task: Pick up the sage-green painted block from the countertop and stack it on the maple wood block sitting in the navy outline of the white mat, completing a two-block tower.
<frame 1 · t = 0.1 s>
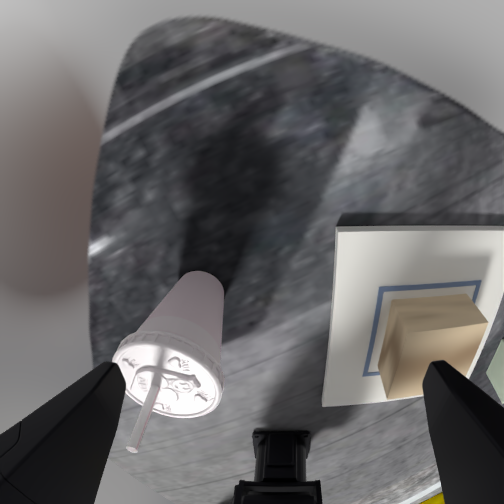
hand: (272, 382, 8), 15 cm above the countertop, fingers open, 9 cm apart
element tile: (432, 503, 48), on the countertop
smoothie: (201, 290, 25), on the countertop
white mat: (418, 324, 24), on the countertop
maple block: (422, 331, 24), point 1 cm above the countertop, touching white mat
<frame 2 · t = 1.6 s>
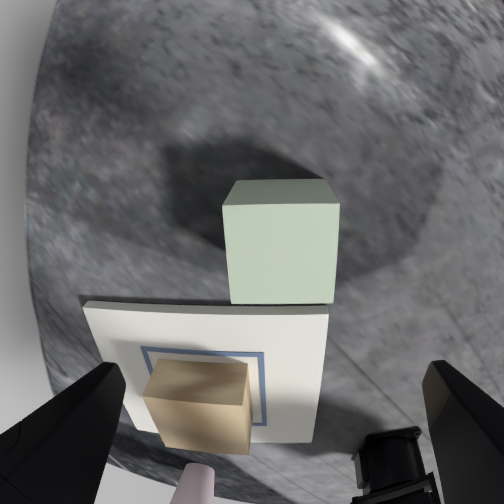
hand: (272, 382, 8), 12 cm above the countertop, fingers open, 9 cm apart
sage block: (281, 220, 19), on the countertop
smoothie: (200, 467, 34), on the countertop
white mat: (210, 382, 25), on the countertop
maple block: (207, 391, 25), point 1 cm above the countertop, touching white mat
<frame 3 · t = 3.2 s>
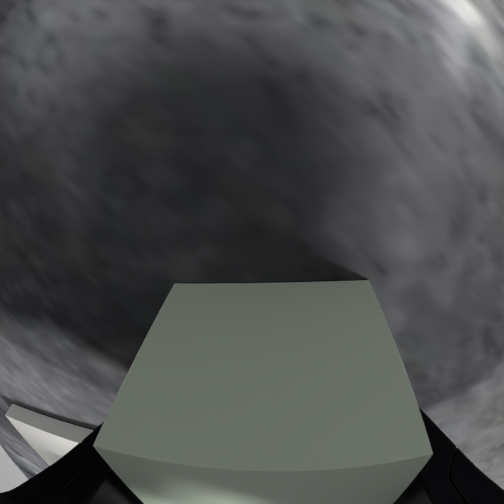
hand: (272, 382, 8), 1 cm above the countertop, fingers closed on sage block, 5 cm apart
sage block: (273, 355, 9), on the countertop, touching gripper
white mat: (181, 499, 16), on the countertop
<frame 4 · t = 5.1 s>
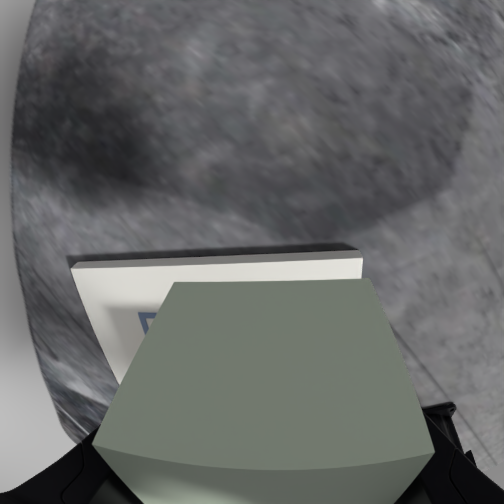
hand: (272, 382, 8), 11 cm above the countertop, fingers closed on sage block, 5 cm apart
sage block: (273, 354, 9), point 10 cm above the countertop, touching gripper
white mat: (221, 357, 22), on the countertop
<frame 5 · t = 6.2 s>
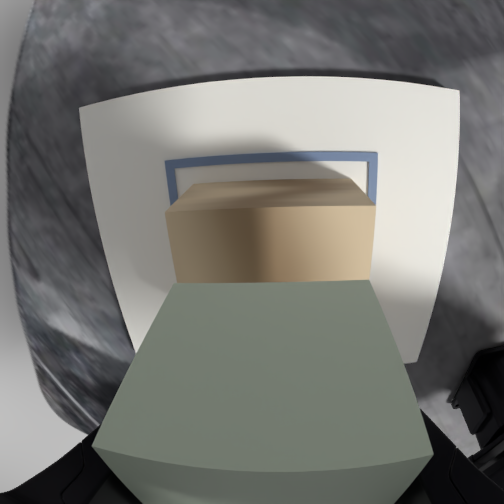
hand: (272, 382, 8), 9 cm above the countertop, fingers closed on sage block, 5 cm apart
sage block: (273, 355, 9), point 8 cm above the countertop, touching gripper
white mat: (275, 243, 16), on the countertop
maple block: (274, 252, 15), point 1 cm above the countertop, touching white mat
when the fingers open (7 cm above the countertop, at t = 6.9 s): sage block drops 1 cm, resting on maple block.
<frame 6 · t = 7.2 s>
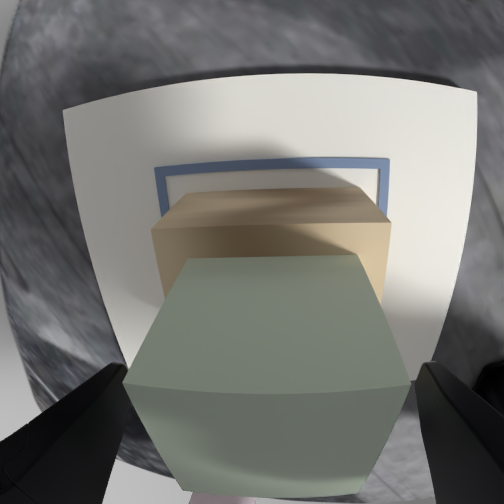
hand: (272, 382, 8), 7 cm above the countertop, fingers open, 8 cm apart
sage block: (274, 325, 10), point 5 cm above the countertop, touching maple block
smoothie: (231, 451, 23), on the countertop
white mat: (275, 257, 15), on the countertop
maple block: (275, 268, 14), point 1 cm above the countertop, touching white mat, sage block
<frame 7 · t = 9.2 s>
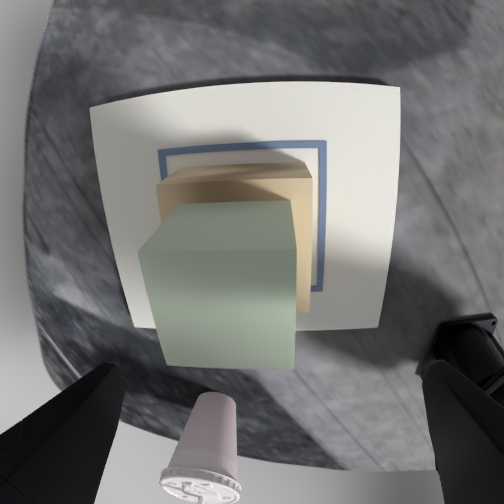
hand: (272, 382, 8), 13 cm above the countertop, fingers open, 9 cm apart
sage block: (237, 253, 15), point 5 cm above the countertop, touching maple block
smoothie: (216, 402, 28), on the countertop
white mat: (246, 217, 20), on the countertop
maple block: (244, 223, 19), point 1 cm above the countertop, touching white mat, sage block
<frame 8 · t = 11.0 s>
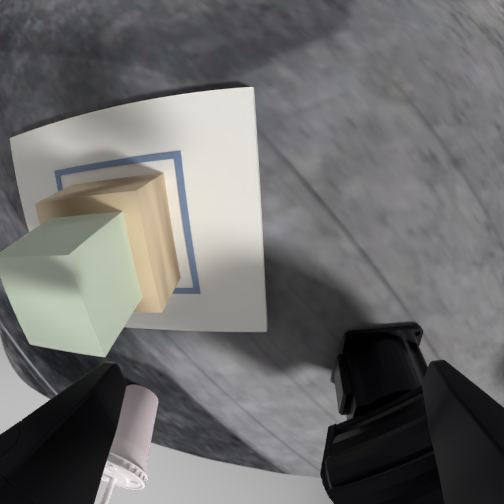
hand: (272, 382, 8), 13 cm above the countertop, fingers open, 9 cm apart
sage block: (94, 257, 16), point 5 cm above the countertop, touching maple block
smoothie: (141, 395, 29), on the countertop
white mat: (129, 225, 21), on the countertop
maple block: (123, 230, 20), point 1 cm above the countertop, touching white mat, sage block
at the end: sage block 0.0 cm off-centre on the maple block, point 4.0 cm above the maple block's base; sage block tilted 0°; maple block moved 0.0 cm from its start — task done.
